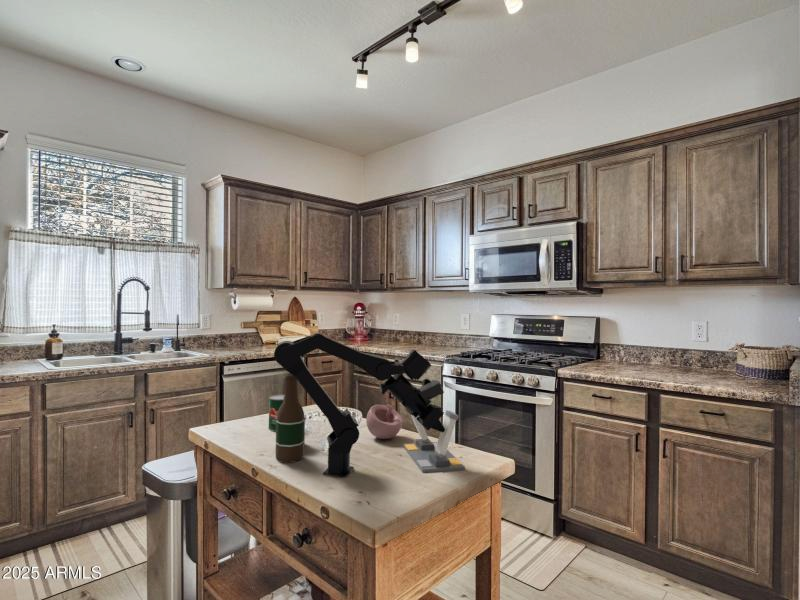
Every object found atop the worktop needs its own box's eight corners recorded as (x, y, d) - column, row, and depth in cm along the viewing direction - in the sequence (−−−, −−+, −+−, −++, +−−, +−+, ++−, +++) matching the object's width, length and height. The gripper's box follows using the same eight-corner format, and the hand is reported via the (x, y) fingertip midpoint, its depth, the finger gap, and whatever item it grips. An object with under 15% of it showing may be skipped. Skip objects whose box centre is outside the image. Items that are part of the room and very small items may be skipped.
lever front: (437, 457, 123) (451, 413, 123) (432, 452, 127) (446, 410, 128) (444, 459, 123) (458, 416, 124) (439, 454, 127) (453, 412, 128)
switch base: (422, 472, 120) (422, 463, 120) (402, 446, 141) (402, 439, 141) (464, 469, 122) (465, 461, 122) (439, 444, 144) (439, 437, 144)
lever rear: (424, 444, 136) (408, 408, 135) (420, 440, 141) (405, 404, 139) (431, 441, 137) (415, 404, 136) (426, 436, 141) (411, 401, 140)
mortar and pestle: (386, 446, 141) (387, 409, 141) (358, 438, 148) (359, 403, 148) (409, 437, 150) (410, 403, 150) (381, 431, 157) (382, 398, 158)
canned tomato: (270, 432, 153) (271, 399, 153) (266, 426, 160) (267, 395, 160) (293, 430, 156) (294, 398, 156) (289, 424, 164) (290, 393, 164)
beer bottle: (289, 465, 123) (291, 377, 123) (269, 459, 127) (271, 374, 127) (309, 457, 130) (311, 373, 130) (289, 452, 134) (291, 371, 134)
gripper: (436, 376, 115) (476, 417, 118) (416, 366, 133) (451, 402, 136) (406, 409, 113) (447, 450, 116) (390, 394, 131) (426, 429, 134)
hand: (443, 430), depth 125 cm, fingers closed, pressing on lever front
